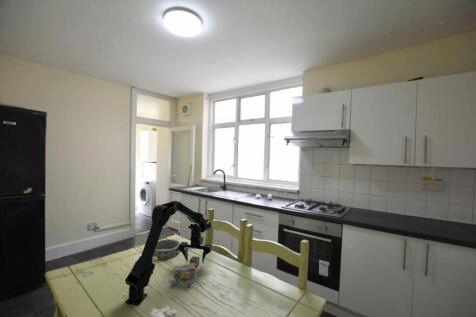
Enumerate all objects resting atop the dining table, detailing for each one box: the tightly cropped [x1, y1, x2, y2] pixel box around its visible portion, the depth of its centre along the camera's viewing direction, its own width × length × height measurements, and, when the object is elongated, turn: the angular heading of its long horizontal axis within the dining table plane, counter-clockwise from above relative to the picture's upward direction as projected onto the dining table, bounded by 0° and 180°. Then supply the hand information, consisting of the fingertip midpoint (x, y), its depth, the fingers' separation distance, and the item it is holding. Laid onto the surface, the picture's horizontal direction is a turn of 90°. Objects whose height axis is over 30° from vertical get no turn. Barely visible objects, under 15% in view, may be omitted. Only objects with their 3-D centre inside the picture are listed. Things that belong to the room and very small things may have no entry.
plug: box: [182, 255, 201, 280], centre depth 116 cm, size 16×4×4 cm, turn 173°
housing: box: [170, 266, 197, 288], centre depth 105 cm, size 6×10×6 cm, turn 83°
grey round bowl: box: [153, 238, 181, 260], centre depth 136 cm, size 18×18×5 cm
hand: (195, 262), depth 122 cm, fingers open, 9 cm apart
